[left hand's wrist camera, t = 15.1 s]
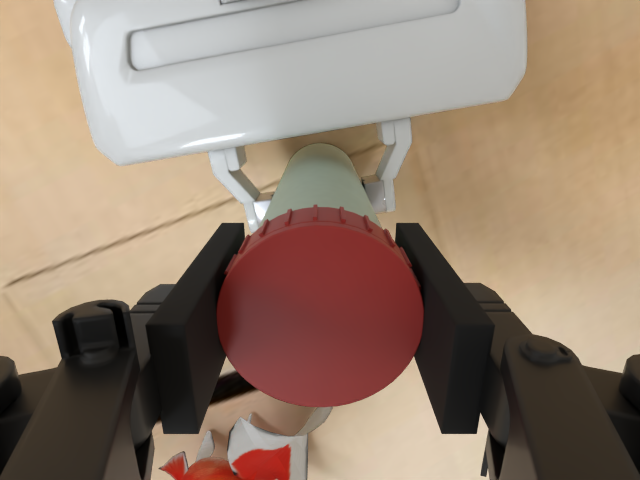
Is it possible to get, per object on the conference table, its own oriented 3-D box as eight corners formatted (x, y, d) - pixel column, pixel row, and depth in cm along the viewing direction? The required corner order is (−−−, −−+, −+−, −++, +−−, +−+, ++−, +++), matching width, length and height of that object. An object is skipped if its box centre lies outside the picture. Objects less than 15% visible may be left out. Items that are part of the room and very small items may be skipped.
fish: (102, 430, 29) (120, 585, 22) (294, 330, 34) (360, 429, 27) (159, 489, 36) (187, 622, 29) (312, 397, 41) (370, 491, 33)
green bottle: (369, 170, 27) (449, 295, 10) (328, 226, 29) (340, 416, 12) (311, 128, 27) (294, 190, 10) (271, 188, 28) (195, 335, 11)
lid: (451, 272, 12) (472, 301, 10) (341, 397, 13) (343, 439, 12) (294, 164, 11) (289, 177, 9) (194, 313, 12) (174, 347, 11)
